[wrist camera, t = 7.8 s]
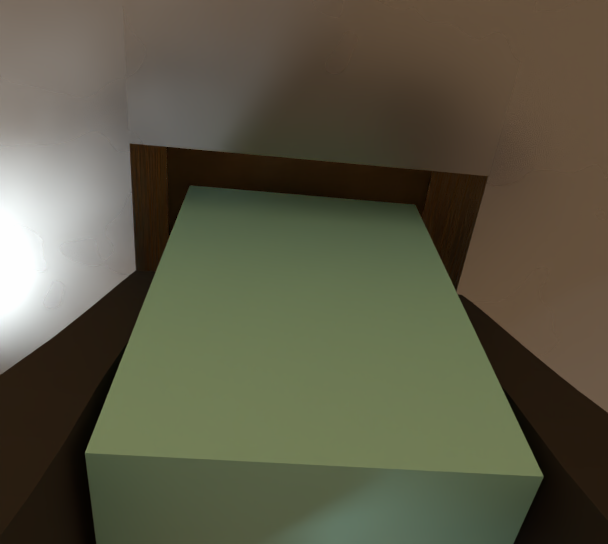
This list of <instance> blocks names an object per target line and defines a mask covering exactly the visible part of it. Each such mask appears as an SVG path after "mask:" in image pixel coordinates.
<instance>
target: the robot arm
mask: <svg viewBox="0 0 608 544" xmlns="http://www.w3.org/2000/svg"><path fill="white" fill-rule="evenodd" d="M155 273H156V272H154V271H140V270H136V271H134V272H133V273H132V274H130V275H129V276H128V277H127V278H125V279H124V280H123V281H122V282H120V283H119V284H118V285H117V286H116V287H114V288H113V289H112V290H111V291H110V292H108V293H107V294H106V295H105V296H104V297H102V298H101V299H100V300H99V301H98V302H96V303H95V304H94V305H93V306H92V307H90V308H89V309H88V310H87V311H86V312H84V313H83V314H82V315H81V316H79V317H78V318H77V319H76V320H74V321H73V322H72V323H70V324H69V325H68V326H67V327H65V328H64V329H63V330H62V331H60V332H59V333H58V334H56V335H55V336H54V337H53V338H51V339H50V340H49V341H47V342H46V343H44V344H43V345H42V346H40V347H39V348H37V349H36V350H35V351H33V352H32V353H30V354H29V355H28V356H26V357H25V358H23V359H22V360H21V361H19V362H18V363H16V364H15V365H14V366H12V367H11V368H9V369H8V370H6V371H5V372H4V373H2V374H1V375H0V544H96V537H95V529H94V522H93V514H92V506H91V498H90V490H89V482H88V474H87V466H86V458H85V451H86V449H87V446H88V444H89V441H90V439H91V436H92V433H93V431H94V428H95V426H96V423H97V421H98V418H99V416H100V413H101V410H102V408H103V405H104V403H105V400H106V398H107V395H108V393H109V390H110V387H111V385H112V382H113V380H114V377H115V375H116V372H117V370H118V367H119V364H120V362H121V359H122V357H123V354H124V352H125V349H126V347H127V344H128V342H129V339H130V336H131V334H132V331H133V329H134V326H135V324H136V321H137V319H138V316H139V313H140V311H141V308H142V306H143V303H144V301H145V298H146V296H147V293H148V290H149V288H150V285H151V283H152V280H153V278H154V275H155ZM458 296H459V298H460V301H461V303H462V305H463V307H464V309H465V311H466V313H467V315H468V318H469V320H470V322H471V324H472V326H473V328H474V330H475V332H476V334H477V337H478V339H479V341H480V343H481V345H482V347H483V349H484V351H485V353H486V356H487V358H488V360H489V362H490V364H491V366H492V368H493V370H494V373H495V375H496V377H497V379H498V381H499V383H500V385H501V387H502V389H503V392H504V394H505V396H506V398H507V400H508V402H509V404H510V406H511V409H512V411H513V413H514V415H515V417H516V419H517V421H518V423H519V425H520V428H521V430H522V432H523V434H524V436H525V438H526V440H527V442H528V444H529V447H530V449H531V451H532V453H533V455H534V457H535V459H536V461H537V464H538V466H539V468H540V470H541V472H542V474H543V476H544V477H543V479H542V482H541V484H540V486H539V488H538V490H537V493H536V495H535V497H534V499H533V501H532V504H531V506H530V508H529V510H528V512H527V515H526V517H525V519H524V521H523V523H522V526H521V528H520V530H519V532H518V534H517V537H516V539H515V541H514V543H513V544H608V412H606V411H605V410H604V409H602V408H601V407H600V406H598V405H597V404H596V403H594V402H593V401H592V400H590V399H589V398H588V397H586V396H585V395H584V394H582V393H581V392H580V391H578V390H577V389H576V388H575V387H573V386H572V385H571V384H569V383H568V382H567V381H566V380H564V379H563V378H562V377H561V376H559V375H558V374H557V373H556V372H554V371H553V370H552V369H551V368H550V367H548V366H547V365H546V364H545V363H543V362H542V361H541V360H540V359H539V358H537V357H536V356H535V355H534V354H533V353H531V352H530V351H529V350H528V349H527V348H526V347H524V346H523V345H522V344H521V343H520V342H519V341H517V340H516V339H515V338H514V337H513V336H512V335H510V334H509V333H508V332H507V331H506V330H505V329H503V328H502V327H501V326H500V325H499V324H498V323H496V322H495V321H494V320H493V319H492V318H491V317H489V316H488V315H487V314H486V313H485V312H483V311H482V310H481V309H480V308H479V307H477V306H476V305H475V304H474V303H472V302H471V301H470V300H468V299H467V298H466V297H464V296H463V295H459V294H458Z"/></svg>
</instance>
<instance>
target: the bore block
mask: <svg viewBox="0 0 608 544" xmlns="http://www.w3.org/2000/svg"><path fill="white" fill-rule="evenodd" d="M167 147H175V148H186V149H197V150H208V151H219V152H230V153H241V154H252V155H263V156H274V157H285V158H296V159H307V160H318V161H329V162H340V163H351V164H362V165H373V166H383V167H394V168H405V169H416V170H427V171H432V175H431V179H430V184H429V188H428V193H427V197H426V201H425V206H424V210H423V215H422V220H423V222H424V224H425V227H426V229H427V231H428V233H429V235H430V237H431V239H432V241H433V243H434V246H435V248H436V250H437V252H438V254H439V256H440V258H441V260H442V263H443V265H444V267H445V269H446V271H447V273H448V275H449V277H450V279H451V282H452V284H453V286H454V288H455V290H456V292H457V294H459V295H463V296H464V297H466V298H467V299H468V300H470V301H471V302H472V303H474V304H475V305H476V306H477V307H479V308H480V309H481V310H482V311H483V312H485V313H486V314H487V315H488V316H489V317H491V318H492V319H493V320H494V321H495V322H496V323H498V324H499V325H500V326H501V327H502V328H503V329H505V330H506V331H507V332H508V333H509V334H510V335H512V336H513V337H514V338H515V339H516V340H517V341H519V342H520V343H521V344H522V345H523V346H524V347H526V348H527V349H528V350H529V351H530V352H531V353H533V354H534V355H535V356H536V357H537V358H539V359H540V360H541V361H542V362H543V363H545V364H546V365H547V366H548V367H550V368H551V369H552V370H553V371H554V372H556V373H557V374H558V375H559V376H561V377H562V378H563V379H564V380H566V381H567V382H568V383H569V384H571V385H572V386H573V387H575V388H576V389H577V390H578V391H580V392H581V393H582V394H584V395H585V396H586V397H588V398H589V399H590V400H592V401H593V402H594V403H596V404H597V405H598V406H600V407H601V408H602V409H604V410H605V411H606V412H608V0H0V375H1V374H2V373H4V372H5V371H6V370H8V369H9V368H11V367H12V366H14V365H15V364H16V363H18V362H19V361H21V360H22V359H23V358H25V357H26V356H28V355H29V354H30V353H32V352H33V351H35V350H36V349H37V348H39V347H40V346H42V345H43V344H44V343H46V342H47V341H49V340H50V339H51V338H53V337H54V336H55V335H56V334H58V333H59V332H60V331H62V330H63V329H64V328H65V327H67V326H68V325H69V324H70V323H72V322H73V321H74V320H76V319H77V318H78V317H79V316H81V315H82V314H83V313H84V312H86V311H87V310H88V309H89V308H90V307H92V306H93V305H94V304H95V303H96V302H98V301H99V300H100V299H101V298H102V297H104V296H105V295H106V294H107V293H108V292H110V291H111V290H112V289H113V288H114V287H116V286H117V285H118V284H119V283H120V282H122V281H123V280H124V279H125V278H127V277H128V276H129V275H130V274H132V273H133V272H134V271H136V270H140V271H154V272H156V270H157V268H158V265H159V262H160V260H161V257H162V255H163V252H164V250H165V247H166V245H167V242H168V179H167Z"/></svg>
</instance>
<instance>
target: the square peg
mask: <svg viewBox="0 0 608 544" xmlns="http://www.w3.org/2000/svg"><path fill="white" fill-rule="evenodd" d="M85 458H86V466H87V474H88V482H89V490H90V498H91V506H92V514H93V522H94V529H95V537H96V544H513V543H514V541H515V539H516V537H517V534H518V532H519V530H520V528H521V526H522V523H523V521H524V519H525V517H526V515H527V512H528V510H529V508H530V506H531V504H532V501H533V499H534V497H535V495H536V493H537V490H538V488H539V486H540V484H541V482H542V479H543V477H544V476H543V474H542V472H541V470H540V468H539V466H538V464H537V461H536V459H535V457H534V455H533V453H532V451H531V449H530V447H529V444H528V442H527V440H526V438H525V436H524V434H523V432H522V430H521V428H520V425H519V423H518V421H517V419H516V417H515V415H514V413H513V411H512V409H511V406H510V404H509V402H508V400H507V398H506V396H505V394H504V392H503V389H502V387H501V385H500V383H499V381H498V379H497V377H496V375H495V373H494V370H493V368H492V366H491V364H490V362H489V360H488V358H487V356H486V353H485V351H484V349H483V347H482V345H481V343H480V341H479V339H478V337H477V334H476V332H475V330H474V328H473V326H472V324H471V322H470V320H469V318H468V315H467V313H466V311H465V309H464V307H463V305H462V303H461V301H460V298H459V296H458V294H457V292H456V290H455V288H454V286H453V284H452V282H451V279H450V277H449V275H448V273H447V271H446V269H445V267H444V265H443V263H442V260H441V258H440V256H439V254H438V252H437V250H436V248H435V246H434V243H433V241H432V239H431V237H430V235H429V233H428V231H427V229H426V227H425V224H424V222H423V220H422V218H421V216H420V214H419V212H418V210H417V207H416V205H414V204H402V203H391V202H379V201H367V200H356V199H344V198H332V197H320V196H309V195H297V194H285V193H274V192H262V191H250V190H239V189H227V188H215V187H204V186H192V185H190V186H189V188H188V191H187V194H186V196H185V199H184V201H183V204H182V206H181V209H180V211H179V214H178V216H177V219H176V222H175V224H174V227H173V229H172V232H171V234H170V237H169V239H168V242H167V245H166V247H165V250H164V252H163V255H162V257H161V260H160V262H159V265H158V268H157V270H156V273H155V275H154V278H153V280H152V283H151V285H150V288H149V290H148V293H147V296H146V298H145V301H144V303H143V306H142V308H141V311H140V313H139V316H138V319H137V321H136V324H135V326H134V329H133V331H132V334H131V336H130V339H129V342H128V344H127V347H126V349H125V352H124V354H123V357H122V359H121V362H120V364H119V367H118V370H117V372H116V375H115V377H114V380H113V382H112V385H111V387H110V390H109V393H108V395H107V398H106V400H105V403H104V405H103V408H102V410H101V413H100V416H99V418H98V421H97V423H96V426H95V428H94V431H93V433H92V436H91V439H90V441H89V444H88V446H87V449H86V451H85Z"/></svg>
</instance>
